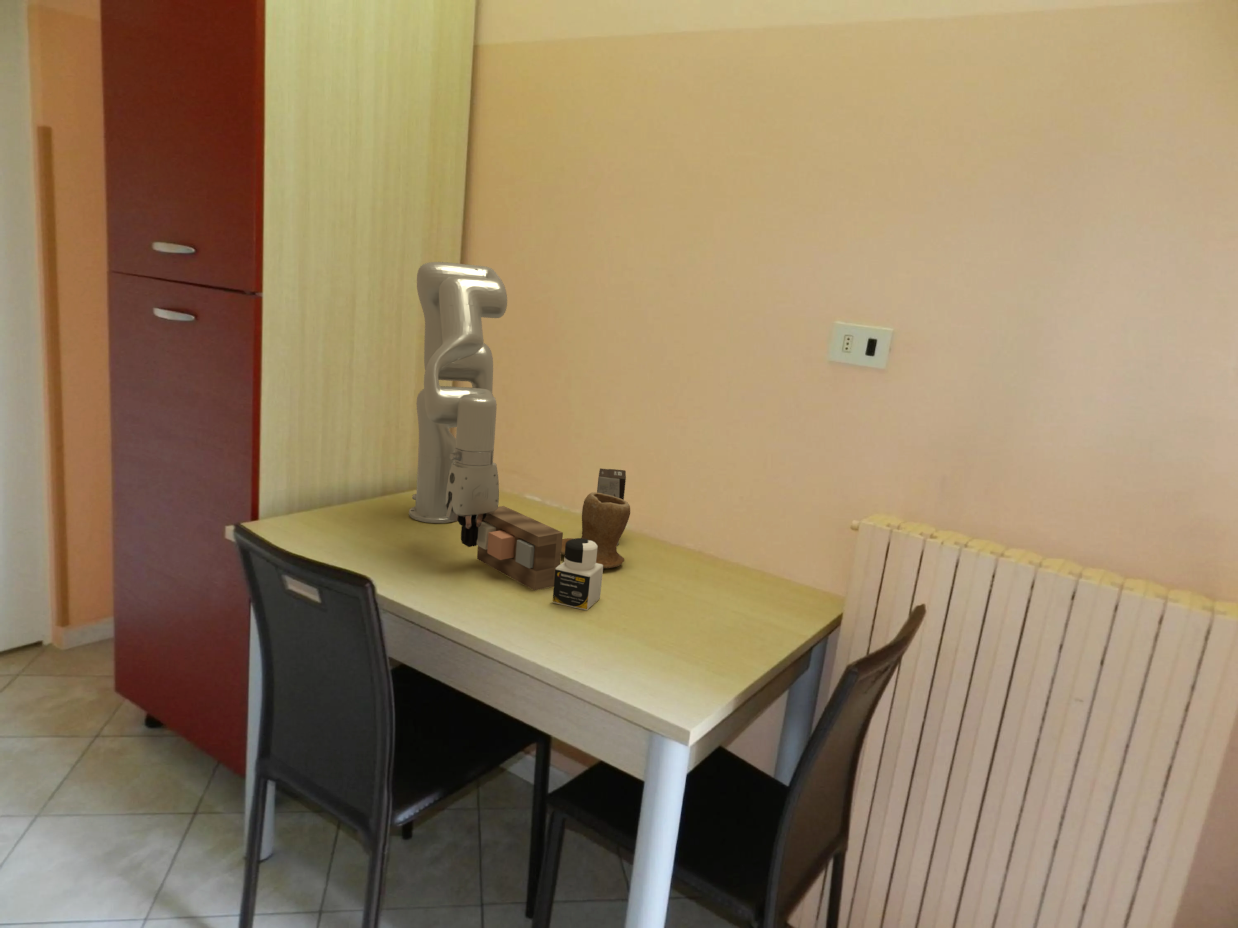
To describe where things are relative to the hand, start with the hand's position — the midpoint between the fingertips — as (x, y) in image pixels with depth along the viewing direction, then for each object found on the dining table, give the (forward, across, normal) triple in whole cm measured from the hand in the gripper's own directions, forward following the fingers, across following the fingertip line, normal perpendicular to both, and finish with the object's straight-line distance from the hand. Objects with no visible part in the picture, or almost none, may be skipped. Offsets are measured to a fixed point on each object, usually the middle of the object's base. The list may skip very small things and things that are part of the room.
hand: (468, 544), depth 173 cm
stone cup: (+5, +27, -8) cm, 28 cm away
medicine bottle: (+5, +9, -24) cm, 27 cm away
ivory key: (+1, +4, 0) cm, 5 cm away
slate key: (+1, +6, -13) cm, 14 cm away
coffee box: (+5, +40, +2) cm, 40 cm away
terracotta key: (+1, +4, -7) cm, 8 cm away
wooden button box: (+5, +8, -6) cm, 11 cm away
